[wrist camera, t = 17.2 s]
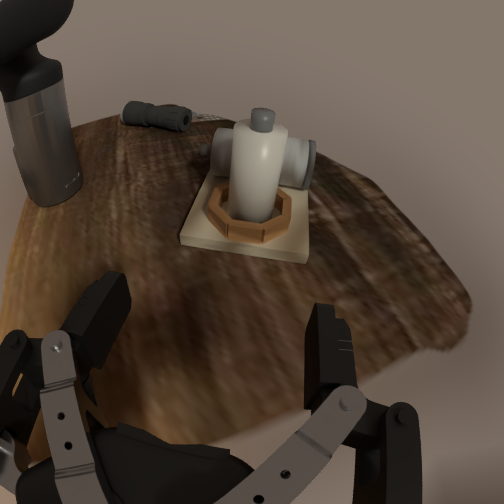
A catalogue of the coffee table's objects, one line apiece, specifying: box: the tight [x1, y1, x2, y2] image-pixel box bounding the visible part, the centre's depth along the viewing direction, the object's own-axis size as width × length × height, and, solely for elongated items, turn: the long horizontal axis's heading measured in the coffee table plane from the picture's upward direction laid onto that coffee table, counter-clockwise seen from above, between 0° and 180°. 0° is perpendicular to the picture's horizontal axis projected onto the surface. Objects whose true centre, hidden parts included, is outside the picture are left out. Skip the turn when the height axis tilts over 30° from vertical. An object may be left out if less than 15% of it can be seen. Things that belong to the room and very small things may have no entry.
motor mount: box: [180, 128, 316, 264], centre depth 35 cm, size 15×17×8 cm
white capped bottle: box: [227, 108, 288, 224], centre depth 30 cm, size 5×5×13 cm
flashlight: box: [121, 101, 192, 132], centre depth 53 cm, size 15×5×5 cm, turn 70°
